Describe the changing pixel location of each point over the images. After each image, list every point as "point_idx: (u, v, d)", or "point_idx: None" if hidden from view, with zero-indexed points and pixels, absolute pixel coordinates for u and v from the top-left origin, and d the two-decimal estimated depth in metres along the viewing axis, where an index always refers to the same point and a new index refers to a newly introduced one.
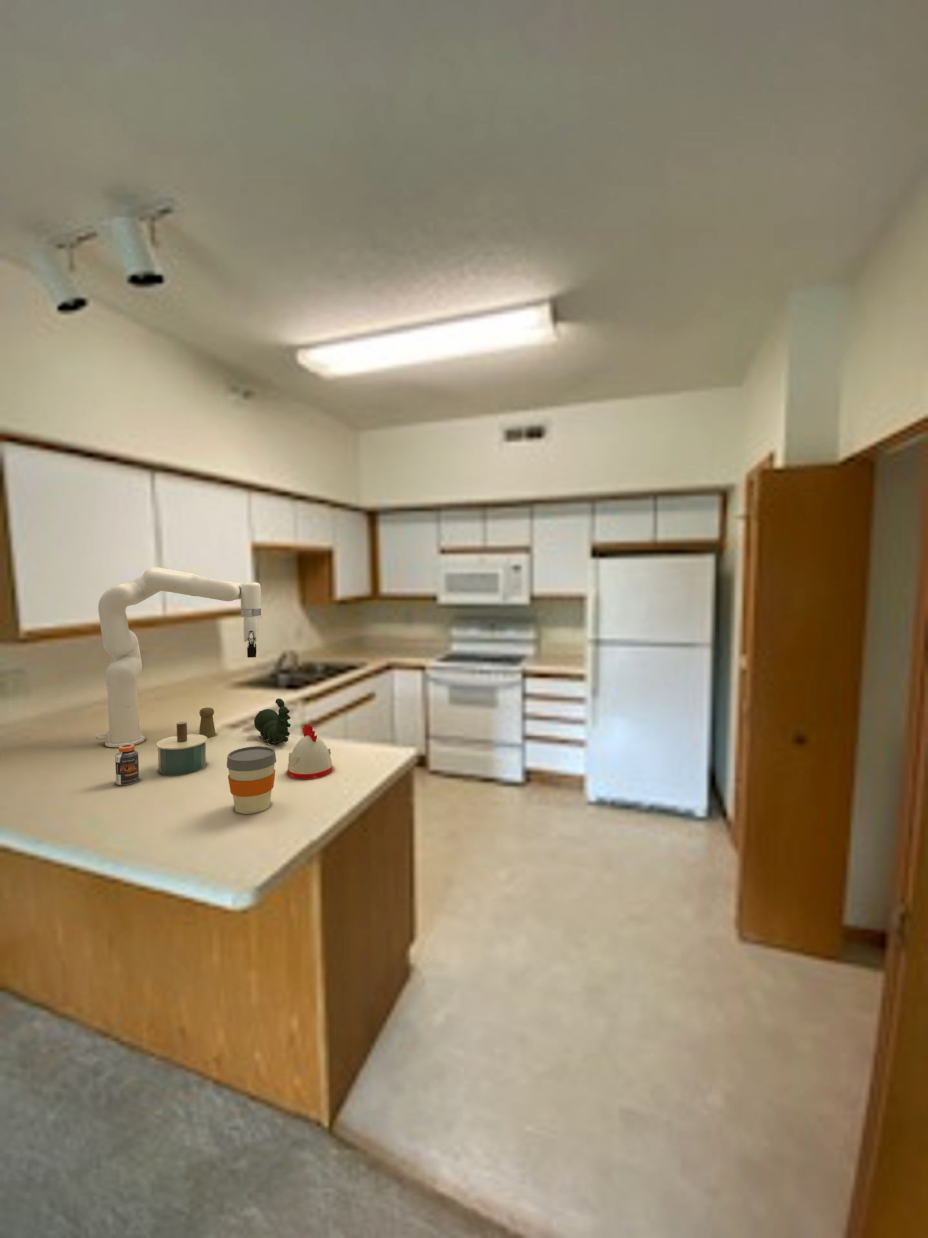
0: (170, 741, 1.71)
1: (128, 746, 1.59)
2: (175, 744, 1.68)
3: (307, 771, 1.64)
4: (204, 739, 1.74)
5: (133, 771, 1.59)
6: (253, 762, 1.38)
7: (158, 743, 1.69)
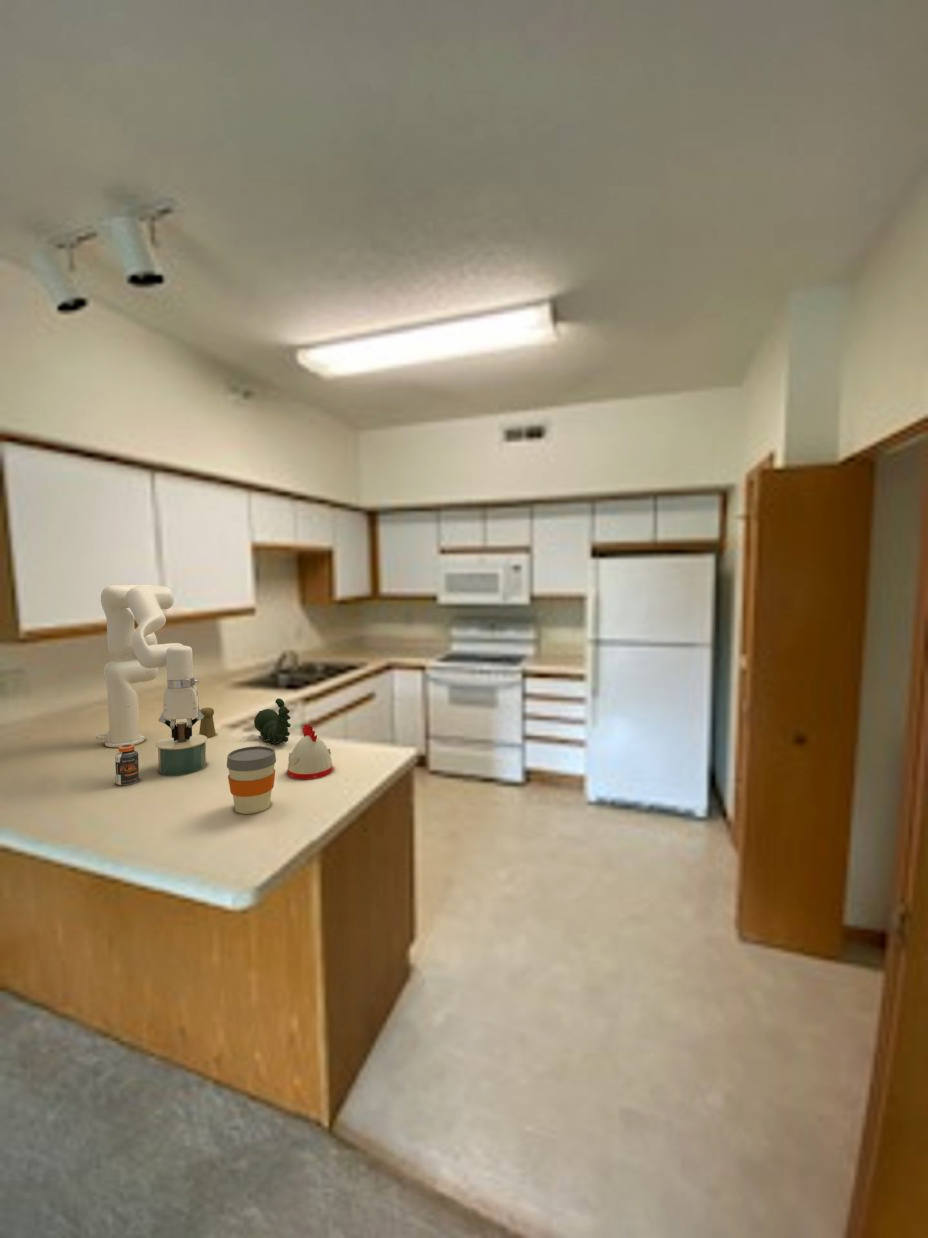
0: (170, 741, 1.71)
1: (128, 746, 1.59)
2: (175, 744, 1.68)
3: (307, 770, 1.64)
4: (204, 739, 1.74)
5: (133, 771, 1.59)
6: (253, 762, 1.38)
7: (158, 743, 1.69)
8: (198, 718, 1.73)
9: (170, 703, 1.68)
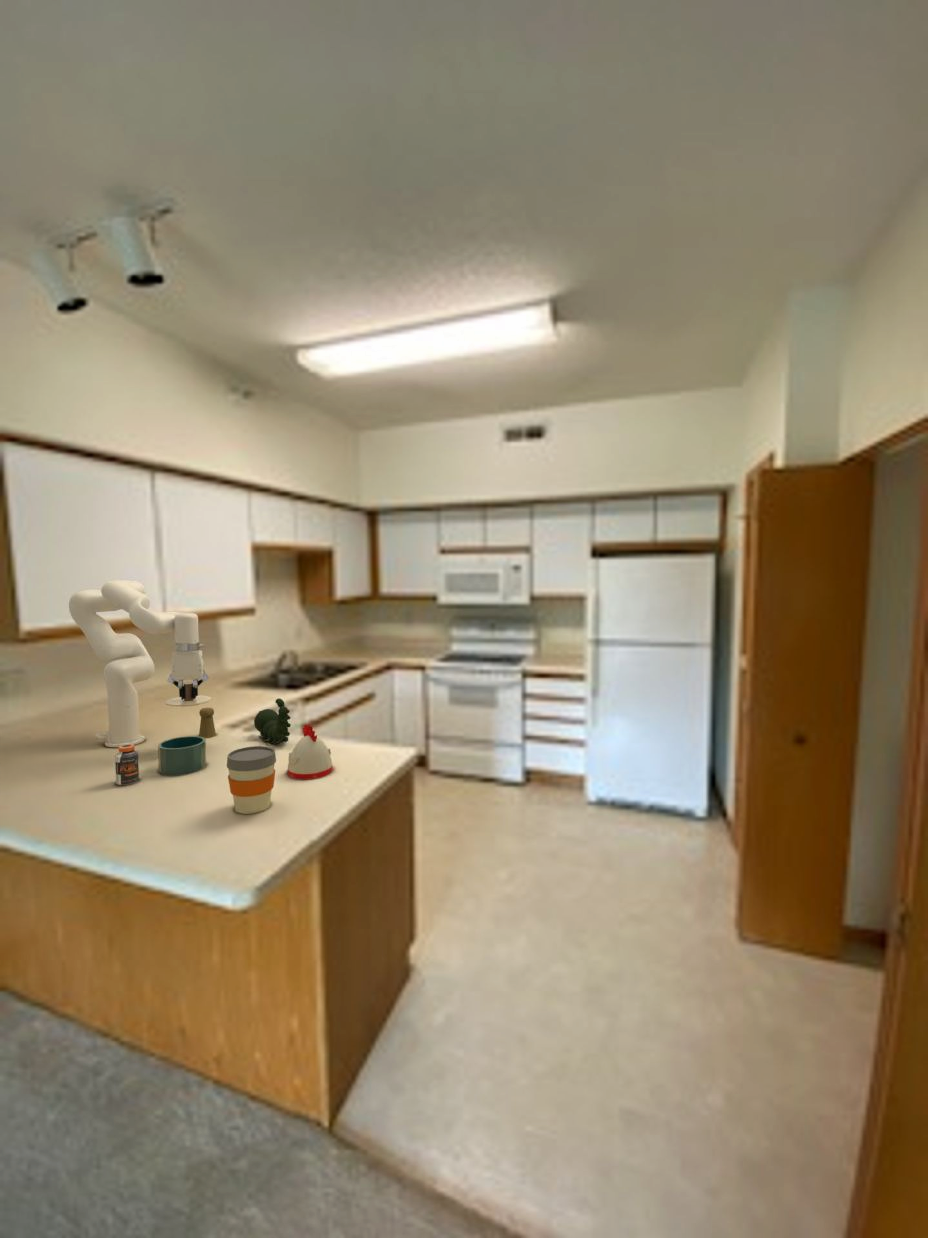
0: (178, 700, 1.88)
1: (128, 746, 1.59)
2: (182, 702, 1.85)
3: (307, 770, 1.64)
4: (209, 699, 1.90)
5: (133, 771, 1.59)
6: (253, 762, 1.38)
7: (167, 701, 1.85)
8: (203, 679, 1.89)
9: (178, 665, 1.84)
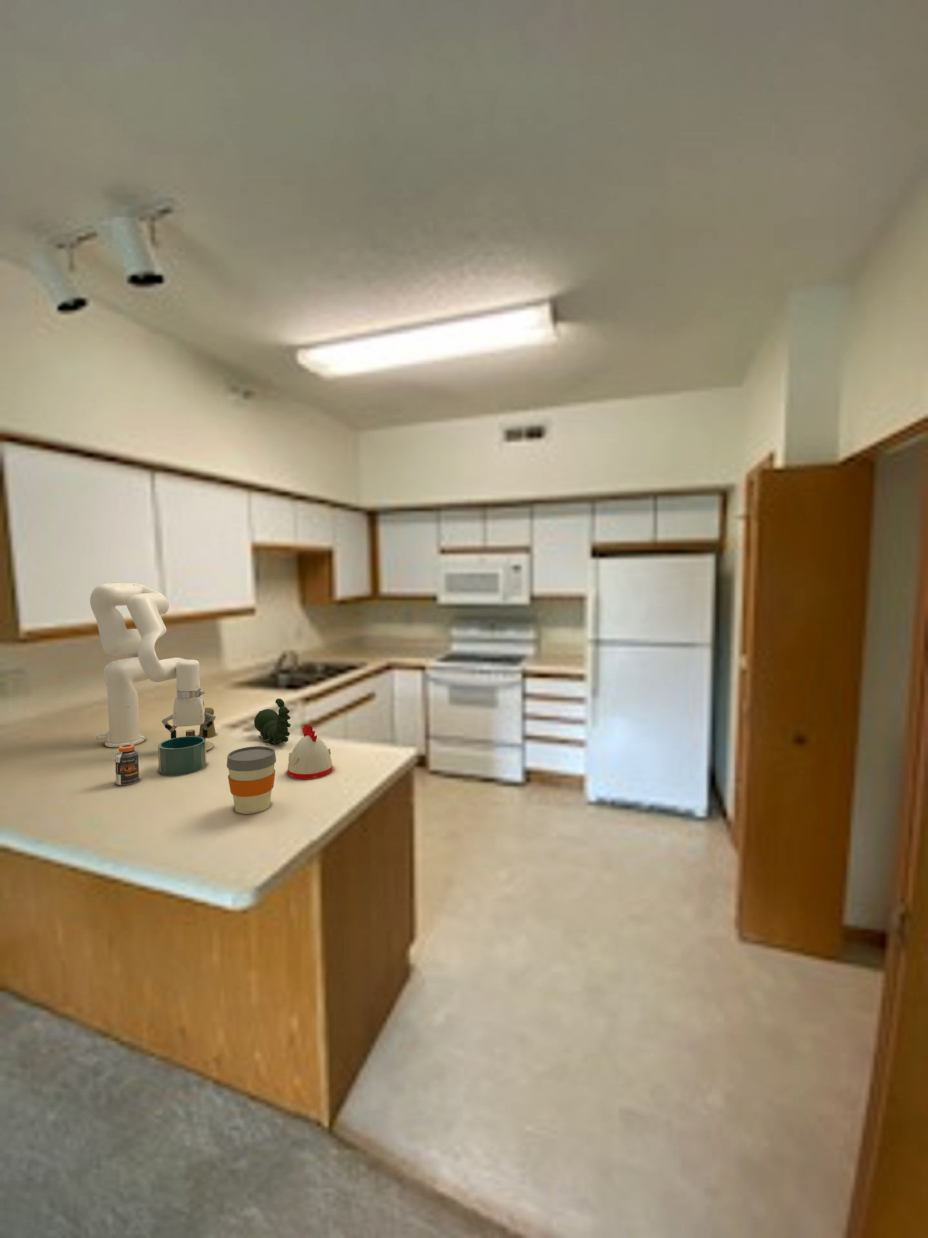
0: None
1: (128, 746, 1.59)
2: None
3: (307, 771, 1.64)
4: (210, 745, 1.92)
5: (133, 771, 1.59)
6: (253, 762, 1.38)
7: None
8: (212, 720, 1.92)
9: (179, 712, 1.86)
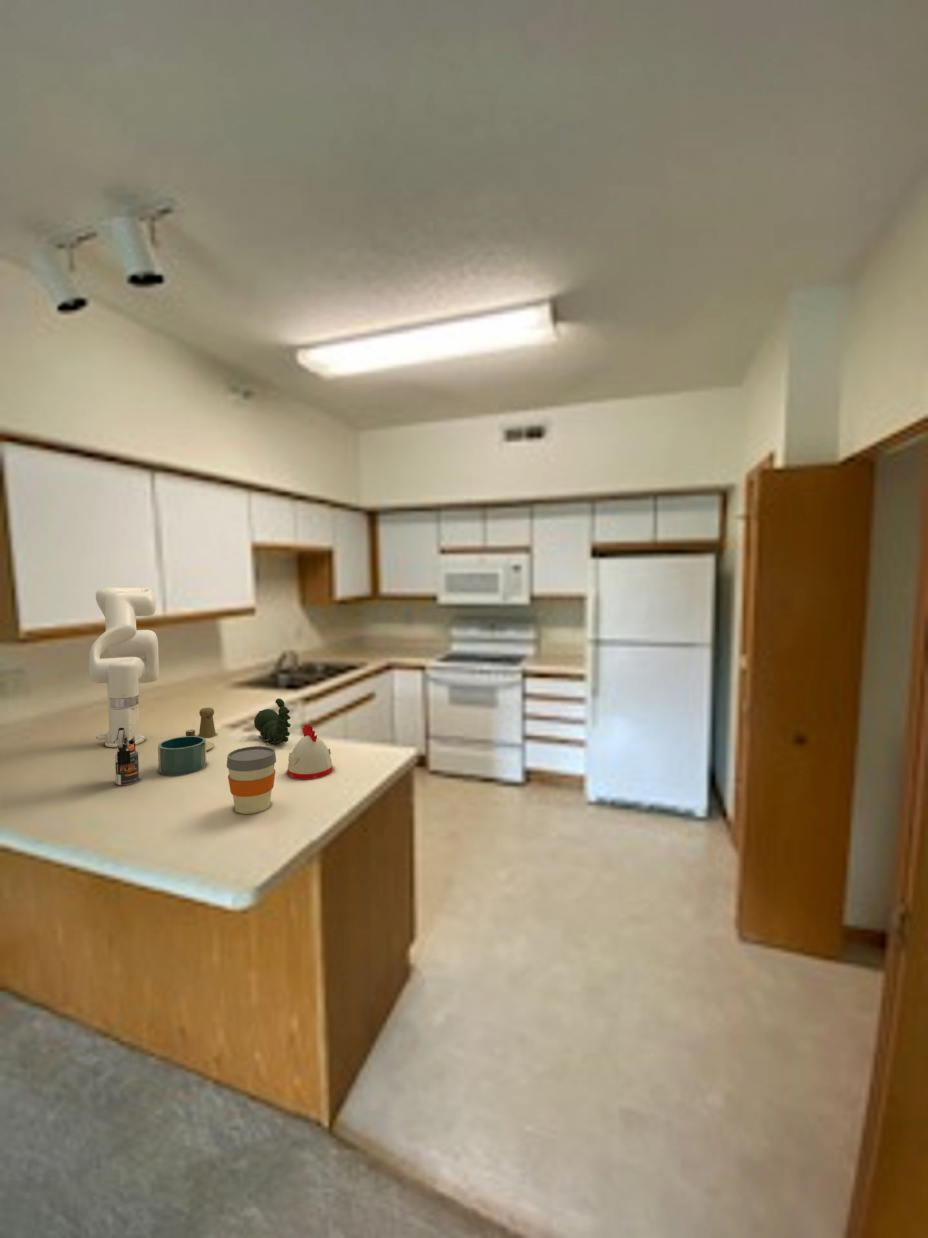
0: None
1: None
2: None
3: (307, 770, 1.64)
4: (210, 745, 1.92)
5: (133, 771, 1.59)
6: (253, 762, 1.38)
7: None
8: None
9: (132, 722, 1.57)
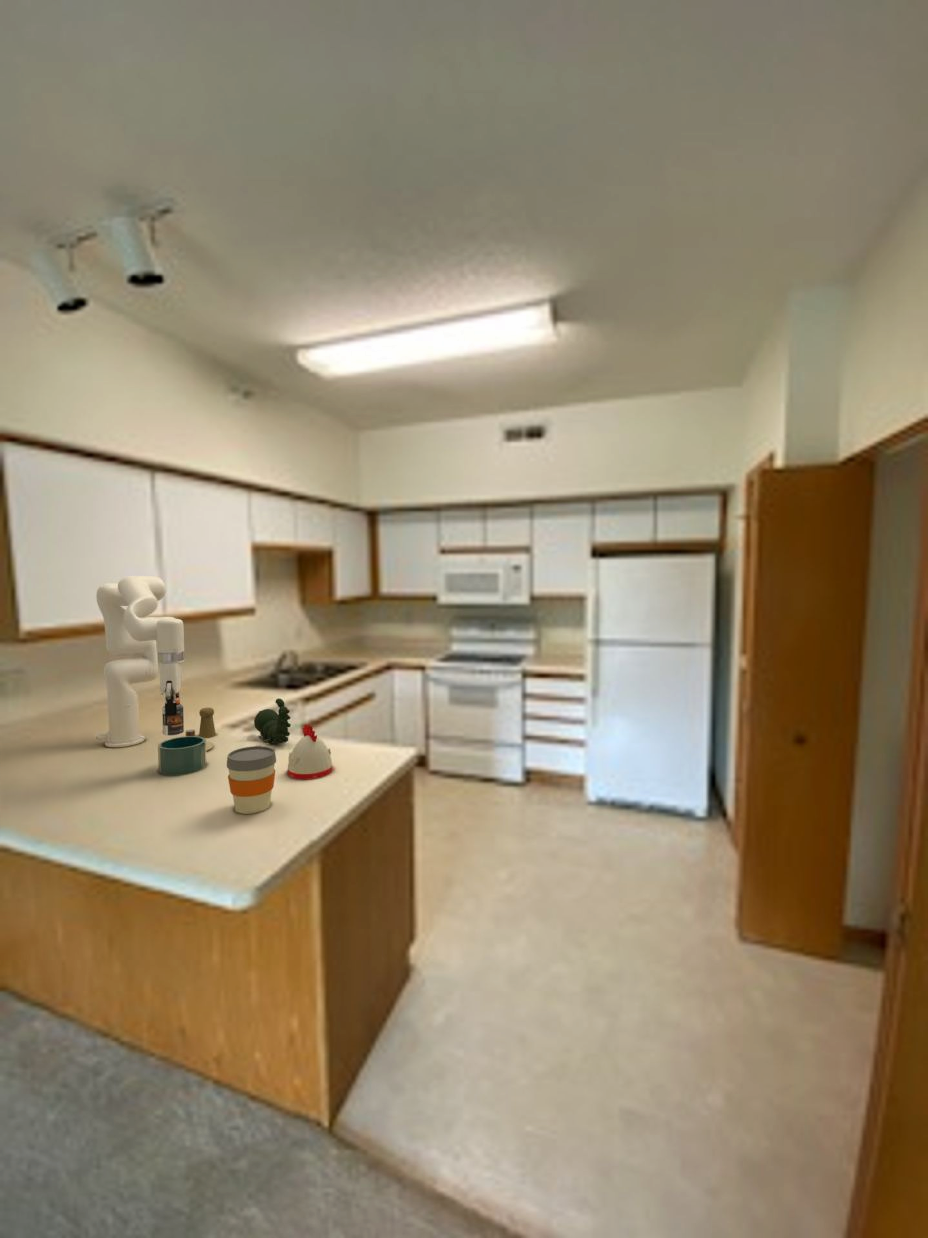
0: None
1: None
2: None
3: (307, 770, 1.64)
4: (210, 745, 1.92)
5: (179, 722, 1.68)
6: (253, 762, 1.38)
7: None
8: None
9: (178, 676, 1.67)
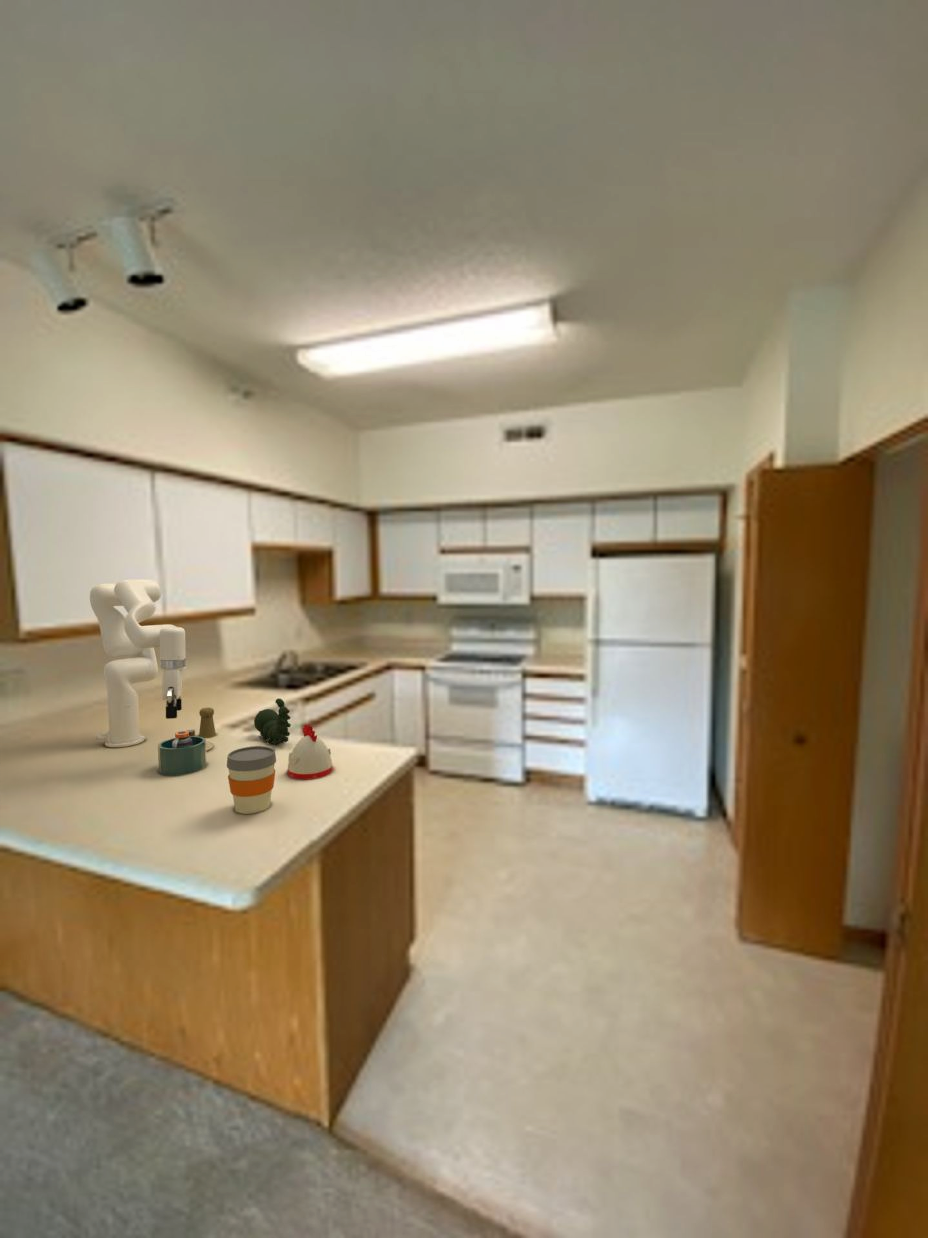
0: None
1: (183, 733, 1.71)
2: None
3: (307, 770, 1.64)
4: (210, 745, 1.92)
5: None
6: (253, 762, 1.38)
7: None
8: None
9: (180, 682, 1.74)
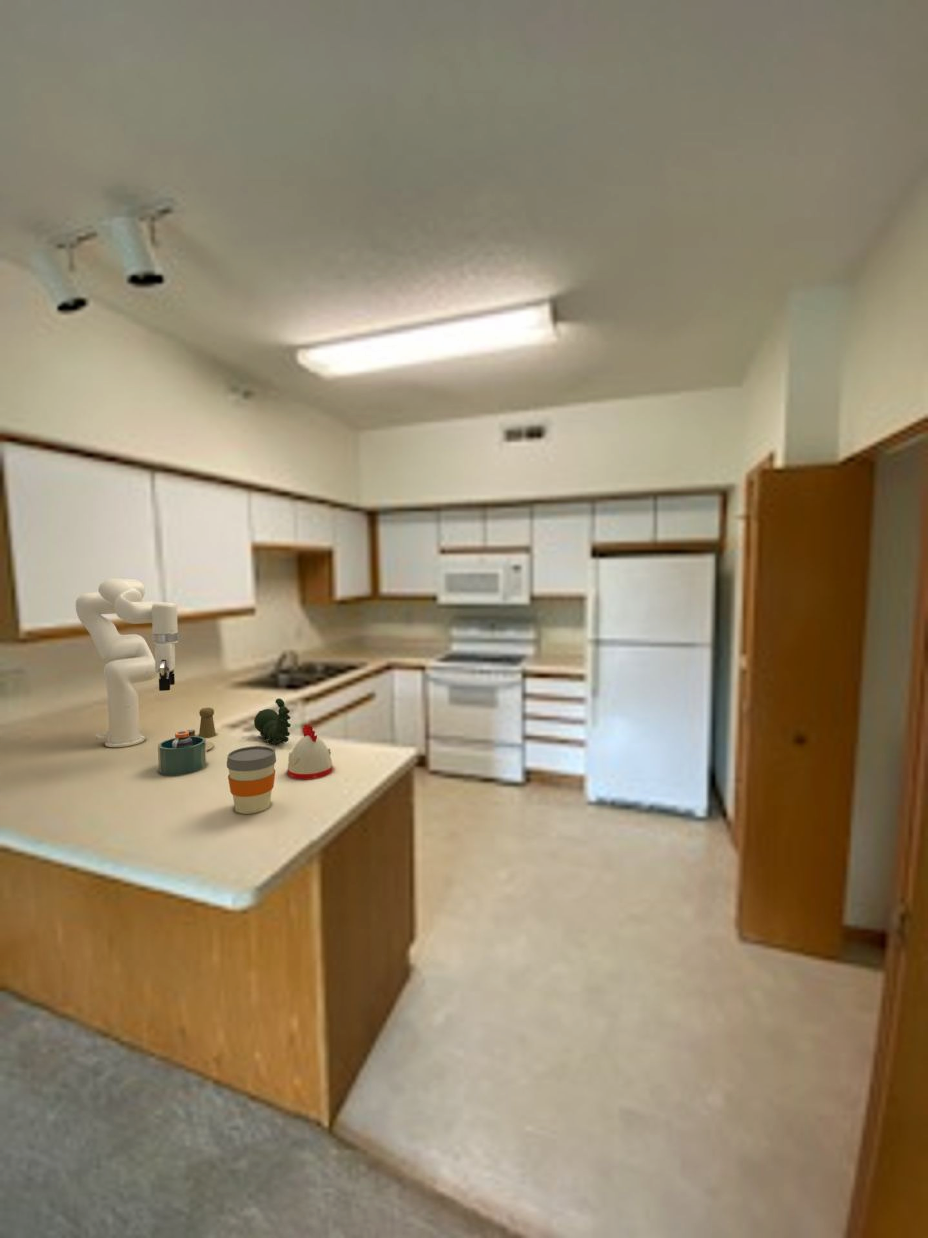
0: None
1: (183, 733, 1.71)
2: None
3: (307, 770, 1.64)
4: (210, 745, 1.92)
5: None
6: (253, 762, 1.38)
7: None
8: None
9: (172, 655, 1.79)
